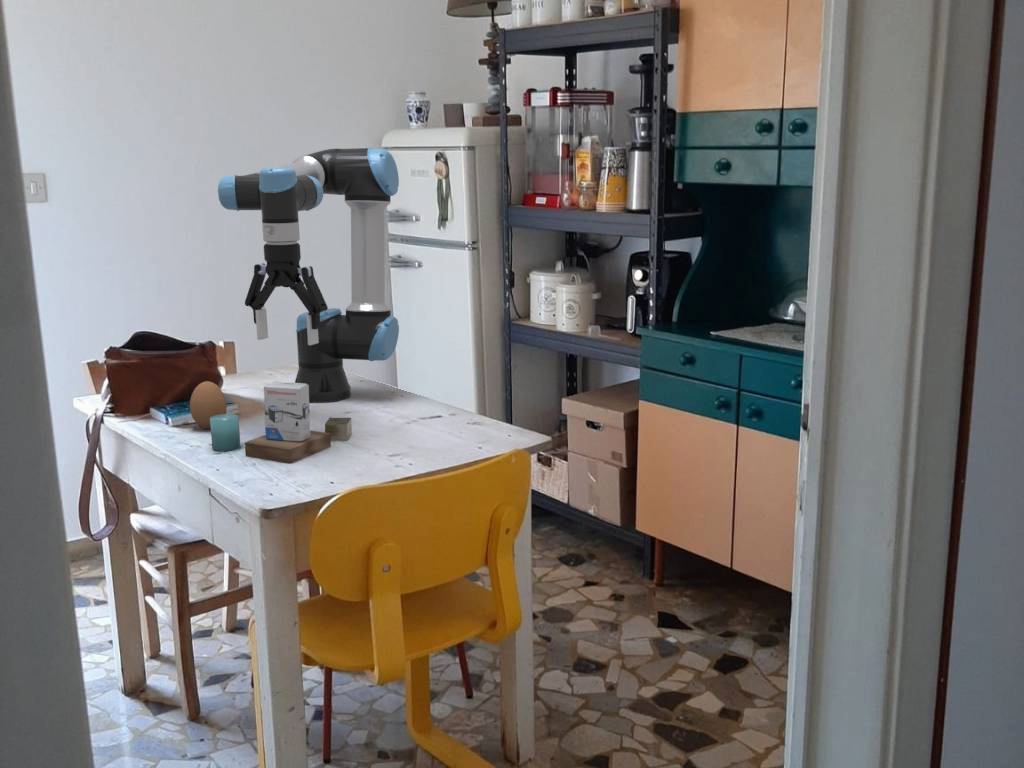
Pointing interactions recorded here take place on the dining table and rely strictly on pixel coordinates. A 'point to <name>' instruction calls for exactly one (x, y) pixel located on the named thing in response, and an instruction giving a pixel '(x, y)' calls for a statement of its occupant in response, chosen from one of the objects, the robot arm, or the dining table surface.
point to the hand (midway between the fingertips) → (287, 341)
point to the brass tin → (339, 428)
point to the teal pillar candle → (225, 432)
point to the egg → (207, 403)
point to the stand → (287, 447)
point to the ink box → (287, 411)
